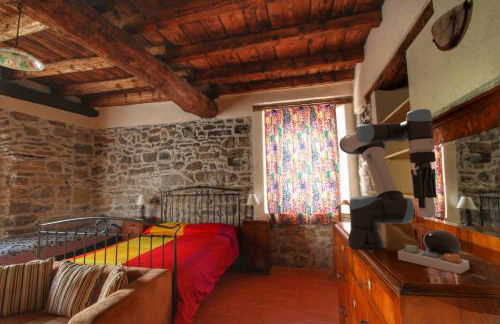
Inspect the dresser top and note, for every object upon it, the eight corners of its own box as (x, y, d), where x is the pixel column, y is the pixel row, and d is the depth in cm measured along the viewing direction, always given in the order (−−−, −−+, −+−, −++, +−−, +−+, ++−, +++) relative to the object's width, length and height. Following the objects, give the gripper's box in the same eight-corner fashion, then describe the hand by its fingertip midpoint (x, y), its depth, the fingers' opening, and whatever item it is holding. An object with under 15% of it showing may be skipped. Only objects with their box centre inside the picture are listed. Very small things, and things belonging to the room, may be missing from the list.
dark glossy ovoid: (460, 264, 84) (444, 262, 76) (427, 251, 93) (410, 248, 85) (468, 238, 84) (453, 233, 77) (434, 227, 93) (418, 222, 86)
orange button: (442, 262, 76) (441, 254, 76) (447, 259, 78) (446, 252, 78) (457, 265, 73) (457, 257, 73) (462, 263, 75) (461, 255, 75)
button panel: (398, 259, 86) (397, 251, 86) (408, 255, 90) (408, 247, 90) (460, 275, 71) (459, 265, 71) (469, 270, 75) (468, 260, 75)
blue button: (421, 259, 81) (421, 251, 81) (427, 256, 83) (426, 249, 83) (435, 262, 78) (434, 255, 78) (440, 260, 80) (439, 252, 80)
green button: (403, 252, 86) (402, 245, 87) (408, 250, 88) (408, 244, 89) (415, 255, 83) (414, 248, 83) (420, 253, 85) (420, 246, 85)
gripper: (422, 149, 76) (428, 220, 74) (444, 151, 85) (450, 215, 83) (398, 152, 82) (403, 217, 81) (421, 153, 91) (426, 213, 89)
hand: (427, 216), depth 82 cm, fingers open, 4 cm apart
